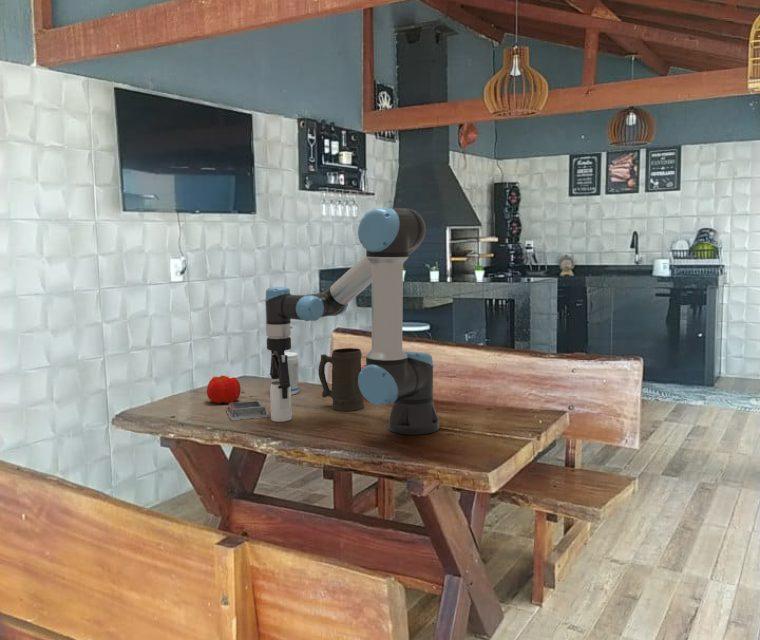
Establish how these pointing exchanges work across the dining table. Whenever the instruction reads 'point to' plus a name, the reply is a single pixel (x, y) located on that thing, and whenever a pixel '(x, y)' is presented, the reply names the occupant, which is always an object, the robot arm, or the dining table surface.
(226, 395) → the tomato
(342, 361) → the beer stein
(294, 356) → the supplement tub
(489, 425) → the dining table surface
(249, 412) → the grey flat rectangular tray
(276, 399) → the can
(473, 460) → the dining table surface
